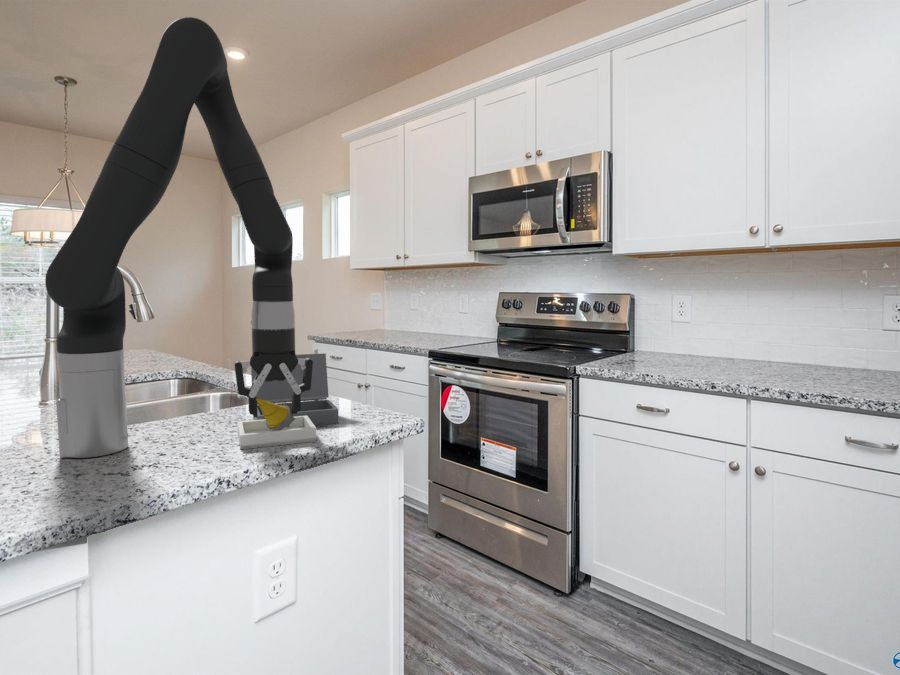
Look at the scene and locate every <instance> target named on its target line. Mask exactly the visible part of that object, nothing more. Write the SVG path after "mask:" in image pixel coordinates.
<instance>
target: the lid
mask: <svg viewBox="0 0 900 675" xmlns="http://www.w3.org/2000/svg"><path fill="white" fill-rule="evenodd" d="M296 356H297V358H301V359H306V358H310V359H311V360H312V361H313V368H312V379H311V389H310V390H308V391H304V392H302V393H301V402H303V401H314V400H328V398H329V384H328V383H329V382H328V367H327V354H326V352H325V353H318V354H313V353H309V354H306V353H305V354H303V353H302V354H296ZM250 369H251V370H250V371H251V372H250V374H251V384H252V383H253V381H254V379H255V377H256V375H257V373H256V372H255V371H254V369H253V368H252V367H251V366H250ZM303 371H304V370H302V369H301V367H300V364H297V366H296V367H295V368H294V370H293V371H292V373H291V374H292V376H293V377H294V379H295V381H296V383H297V384H298V385H301V384H302V383H303ZM292 393H293V390H292V388H291V386H290V385H289V383H288V381H287V380H286V379H285V380H284V381H278V380H274V381H269V382H266V381H264V382H263V384H262V386H261V387H260V389H259V391H258V392H257V394H256V396H257V399H261V400H264V401H267V402H271V403H275V404H278V403H291V402H292ZM257 405H258V403H257Z"/></svg>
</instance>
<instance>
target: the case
mask: <svg viewBox="0 0 900 675" xmlns="http://www.w3.org/2000/svg"><path fill="white" fill-rule="evenodd" d="M277 404H278V405H287V406H289V407H290V408H291V409H292V402H286V403H277ZM257 415H258V417H255V418H253V417H252V420H262V419H265V417H264V415H263V413H262V411H261V409H260V407H259V405H257ZM306 415H307V416H308V417H309V419H310V420H311V421H312V423H313V424H314V426H315V427H316V426H323V425H325V426H326V425H332V424H333V425H334V424H339V408H338V407H337V406H336V405H335V404H334V403H333V402H332V401H331V400H330V399H324V400H316V401H314V400H311V401H301V409H300V411H297V414H293V417H295V416H306Z"/></svg>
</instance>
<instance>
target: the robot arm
mask: <svg viewBox="0 0 900 675" xmlns="http://www.w3.org/2000/svg"><path fill="white" fill-rule="evenodd" d="M218 36H219V35H217V33H216V32H215V30H214V29H213V28H212V27H211V26H210V24H208V23H207V22H206V21H204V20H202V19H200V18H197V17H192V16H189V17H188V16H185V17H181V18H177V19H176V20H174V21H173V22H171V23H170V24H169V25H168V26H167V28H165V30H164V32H163V33H162V36H161V38H160V41H159V44H158V47H157V50H156V52H155V56H154V59H153V61H152V65H151V68H150V71H149V74H148V76H147V79H146V81H145V84H144V86H143V88H142V90H141V92H140V94H139V96H138V98H137V100H136V101H135V103H134V105H133V107H132V109H131V111H130V112H129V115H128V116H127V119H126V121H125V122H124V125H123V126H122V129H121V130H120V133H119V134H118V136H117V137H116V139H115V142H114V144H113V145H112V147H111V150H110V151H109V154H108V155H107V157H106V159H105V161H104V164H103V166H102V168H101V171H100V173H99V175H98V178H97V180H96V181H95V184H94V185H93V187H92V189H91V190H92V191H91V192H90V194H89V197H88V199H87V200H86V201H87V202H86V204H85V207H84V209H83V211H82V214H81V215H80V218H78V221H77V223H76V224H75V226H74V228H73V230H72V231H71V232H70V233H69V235H68V237H67V239H66V240H65V241H64V243H63V245H62V246H61V248H60V249H59V250H58V252H57V254H56V255H55V256H54V258H53V259H52V261H51V263H50V265H49V266H48V268H47V270H46V273H45V274H46V275H45V280H44V281H45V289H46V292H47V294H48V296H49V298H50V299H51V300H52V301H53V302H54V303H55V304H56V305H57V306H59V307H61V308H62V312H63V313H62V314H63V315H62V318H63V319H62V324H61V328H60V331H59V333H58V334H57V337H56V342H55V343H56V353H57V354H56V355H57V356H56V357H57V367H58V368H57V371H58V385H59V398H58V399H57V400H56V403H55V405H56V416H57V434H58V446H59V447H58V449H59V450H58V451H59V458H60V459H62V458H71V459H72V458H73V459H75V458H76V459H86V458H93V457H94V458H96V457H102V456H106V455H111V454H115V453H119V452H120V451H123V450H125V449H127V448H128V447H129V432H128V431H129V430H128V414H127V412H128V411H127V394H126V392H127V390H126V389H127V388H126V374H125V357H124V356H125V354H124V352H125V350H124V337H125V333H126V327H127V326H126V322H127V321H126V320H127V319H126V317H127V316H126V312H127V311H126V309H127V308H126V287H125V282H124V281H125V280H124V276H123V274H122V272H121V270H120V269H119V267H118V265H119V263H120V260H121V258H122V255H123V253H124V250H125V249H126V247H127V244H128V242H129V241H130V239H131V238H132V236H133V235H134V234H135V232H136V230H138V228H139V227H140V226H141V225H142V224H143V222H144V221H145V220H146V219H147V218H148V217H149V216H150V215H151V213H152V212H153V211H154V210H155V208H156V207H157V205H158V204H159V203H160V202H161V200H162V198H163V197H164V195H165V193H166V191H167V190H168V187H169V185H170V182H171V181H172V178H173V177H174V174H175V172H176V170H177V168H178V165H179V162H180V158H181V155H182V150H183V145H184V139H185V135H186V130H187V129H186V128H187V125H188V120H189V117H190V114H191V111H192V109H193V107H194V105H195V106H196V108H197V110H198V112H199V114H200V116H201V118H202V121H203V122H204V124H205V127H206V129H207V132H208V135H209V137H210V140H211V143H212V146H213V149H214V152H215V156H216V160H217V161H218V164H219V166H220V170H221V172H222V173H223V174H222V175H223V176H224V179H225V181H226V183H227V186H228V187H229V190H230V192H231V195H232V197H233V199H234V200H235V203H236V204H237V207H238V210H239V213H240V217H241V219H242V222H243V224H244V227H245V230H246V232H247V235H248V238H249V240H250V242H251V243H252V245H253V250H254V251H253V252H254V253H253V254H254V255H253V256H254V271H253V274H252V282H251V284H252V287H251V288H252V305H251V306H252V308H251V320H250V324H251V345H252V346H251V348H252V349H251V351H252V353H251V356H250V359H249V360H243V361H240V360H235V362H234V363H233V366H234V372H235V381H236V388H237V394H238V395H240V396H246V397H247V398H248V412H249V415H250V416H251V415H252V419H253V418H255V417H258V415H257V400H256V399H257V396H256V394H257V392H258V391H259V389H260V387H261V386H262V384H263V382H264V381H266V382H269V381H274V380H278V381H284V380H285V379H286V380H287V381H288V383H289V385H290V386H291V388H292V390H293V393H292V411H293V414H297V411H300V409H301V402H302V401H301V393H302V392H304V391H308V390H310V389H311V379H312V368H313V361H312V360H311V359H310V358H306V359H301V358H297V356H296V355H297V354H296V318H295V317H296V316H295V309H294V308H295V307H294V294H293V293H294V285H293V276H292V266H293V239H294V238H293V233H292V229H291V227H290V226H289V223H288V221H287V219H286V216H285V214H284V213H283V211H282V208H281V206H280V204H279V201H278V199H277V198H276V195H275V192H274V189H273V184H272V182H271V179H270V177H269V174H268V172H267V169H266V168H265V165H264V163H263V160H262V157H261V156H260V153H259V151H258V149H257V147H256V144H255V143H254V141H253V139H252V137H251V135H250V134H249V131H248V129H247V127H246V125H245V123H244V122H243V118H242V117H241V114H240V112H239V110H238V106H237V103H236V101H235V97H234V93H233V89H232V84H231V81H230V76H229V72H228V61H227V57H226V54H225V52H224V47H223V44H222V42H221V40H220V38H219V37H218ZM297 364H300V367H301V369H302V370H304V371H303V383H302V384H301V385H298V384H297V383H296V381H295V379H294V377H293V376H292V374H291V373H292V371H293V370H294V368H295V367H296V366H297ZM249 367H250V368H251V367H252V368H253V369H254V371H255V372H256V373H257V375H256V377H255V379H254V381H253V383H252V382H251V385H250V387H246V386H245V377H244V374H246V373H247V372H248V368H249Z"/></svg>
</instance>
